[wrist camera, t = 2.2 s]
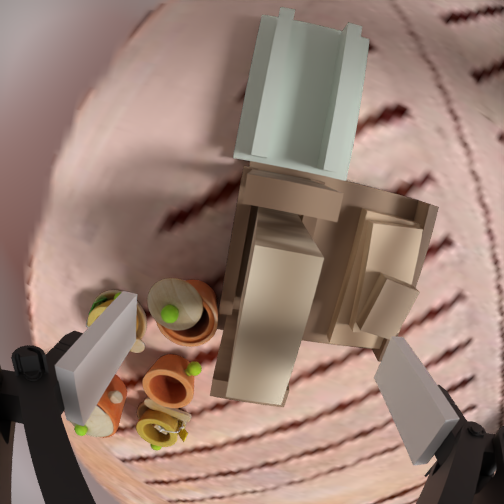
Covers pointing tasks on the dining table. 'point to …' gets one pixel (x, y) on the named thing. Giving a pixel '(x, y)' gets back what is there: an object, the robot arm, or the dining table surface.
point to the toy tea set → (159, 362)
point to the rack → (333, 258)
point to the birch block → (273, 306)
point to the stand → (303, 96)
